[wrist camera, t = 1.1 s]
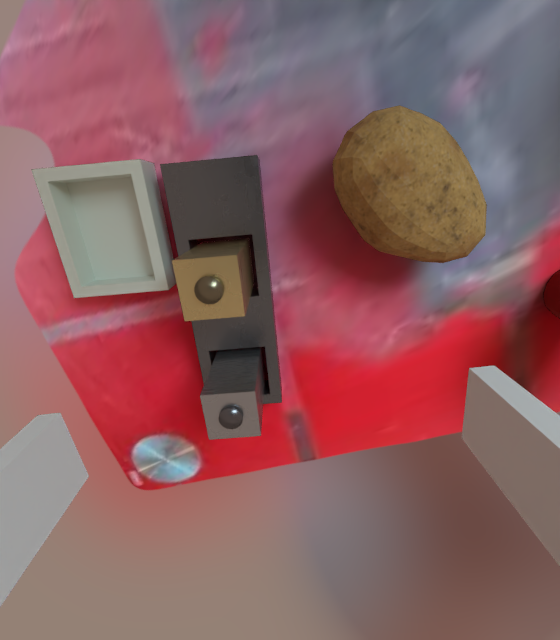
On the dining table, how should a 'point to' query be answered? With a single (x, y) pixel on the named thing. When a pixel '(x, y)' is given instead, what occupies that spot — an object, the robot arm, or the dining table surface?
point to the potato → (409, 187)
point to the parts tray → (108, 226)
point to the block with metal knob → (215, 279)
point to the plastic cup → (553, 294)
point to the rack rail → (221, 221)
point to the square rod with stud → (234, 394)
